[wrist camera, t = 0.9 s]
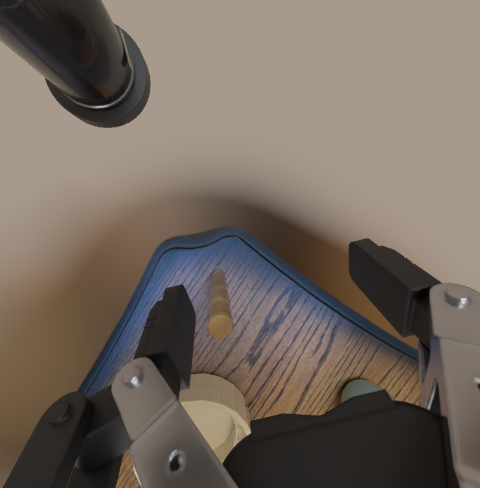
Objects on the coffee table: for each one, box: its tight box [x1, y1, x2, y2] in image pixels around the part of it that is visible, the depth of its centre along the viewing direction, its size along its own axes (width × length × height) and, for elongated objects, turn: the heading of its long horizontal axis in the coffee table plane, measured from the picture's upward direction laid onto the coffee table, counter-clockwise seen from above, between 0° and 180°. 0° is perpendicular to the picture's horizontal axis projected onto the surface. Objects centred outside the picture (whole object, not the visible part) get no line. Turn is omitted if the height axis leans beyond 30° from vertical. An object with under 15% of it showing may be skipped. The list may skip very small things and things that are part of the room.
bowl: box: [133, 373, 251, 487], centre depth 33 cm, size 16×16×6 cm
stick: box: [208, 270, 233, 339], centre depth 26 cm, size 2×2×16 cm
